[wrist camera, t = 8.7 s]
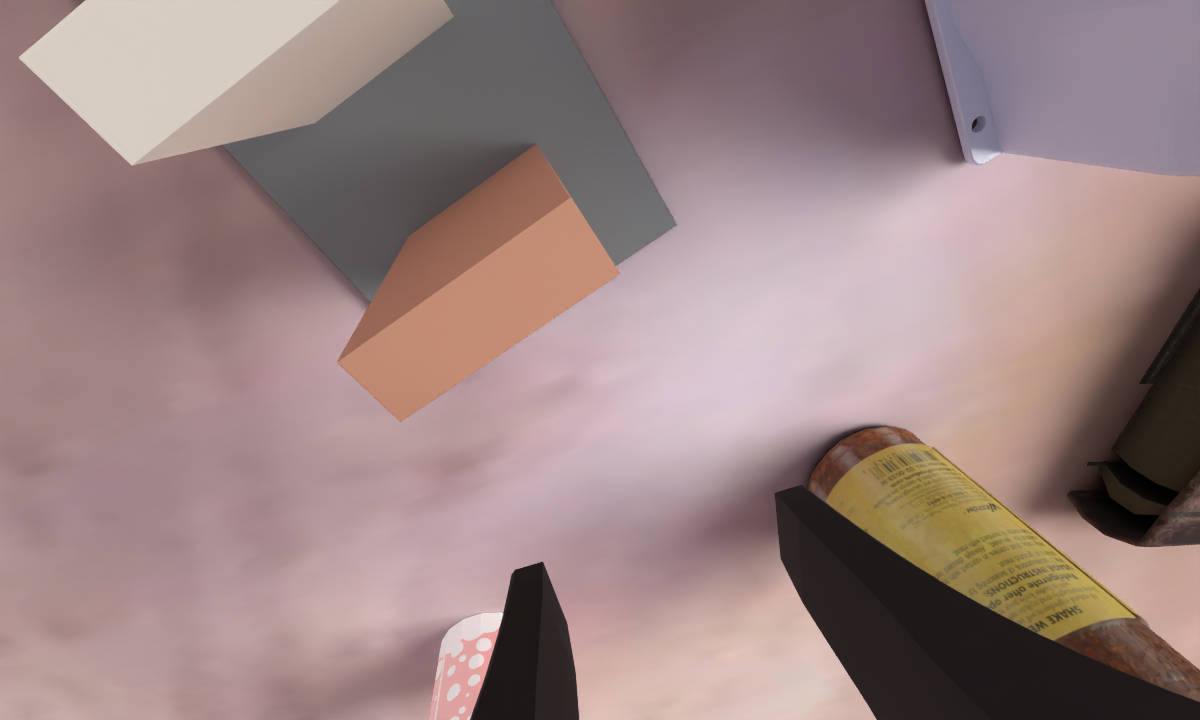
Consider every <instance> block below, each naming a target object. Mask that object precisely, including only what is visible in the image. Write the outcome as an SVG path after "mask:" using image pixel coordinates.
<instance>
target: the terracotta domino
mask: <svg viewBox="0 0 1200 720" xmlns="http://www.w3.org/2000/svg"><path fill="white" fill-rule="evenodd" d="M619 274H620V272H619V271H618V269H617V268H616V266H615V265H614V263H613V261H612V260H611V258H610V257H609V255H608V254H607V252H606V251H605V249H604V247H603V246H602V244H601V243H600V241H599V240H598V238H597V237H596V235H595V233H594V232H593V230H592V229H591V227H590V226H589V224H588V223H587V221H586V219H585V218H584V216H583V215H582V213H581V212H580V210H579V209H578V207H577V205H576V204H575V202H574V201H573V199H572V198H571V196H570V195H569V193H568V191H567V190H566V188H565V187H564V185H563V184H562V182H561V181H560V179H559V178H558V176H557V175H556V173H555V172H554V170H553V169H552V167H551V165H550V164H549V162H548V161H547V159H546V158H545V156H544V155H543V153H542V152H541V150H540V149H539V147H538V146H537V144H535V145H533V146H532V147H531V148H529V149H528V150H527V151H525V152H524V153H522V154H521V155H520V156H518V157H517V158H516V159H514V160H513V161H511V162H510V163H509V164H507V165H506V166H505V167H503V168H502V169H500V170H499V171H498V172H496V173H495V174H494V175H492V176H491V177H489V178H488V179H487V180H485V181H484V182H483V183H481V184H480V185H478V186H477V187H476V188H474V189H473V190H472V191H470V192H469V193H467V194H466V195H465V196H463V197H462V198H460V199H459V200H458V201H456V202H455V203H454V204H452V205H451V206H449V207H448V208H447V209H445V210H444V211H443V212H441V213H440V214H438V215H437V216H436V217H434V218H433V219H432V220H430V221H429V222H427V223H426V224H425V225H423V226H422V227H421V228H419V229H418V230H416V231H415V232H414V233H412V234H411V235H410V236H409V237H408V238H407V240H406V242H405V244H404V245H403V247H402V249H401V251H400V252H399V254H398V256H397V258H396V259H395V261H394V263H393V265H392V266H391V268H390V270H389V272H388V273H387V275H386V277H385V279H384V280H383V282H382V284H381V286H380V287H379V289H378V291H377V293H376V295H375V296H374V298H373V300H372V302H371V303H370V305H369V307H368V309H367V310H366V312H365V314H364V316H363V317H362V319H361V321H360V323H359V324H358V326H357V328H356V330H355V331H354V333H353V335H352V337H351V338H350V340H349V342H348V344H347V345H346V347H345V349H344V351H343V352H342V354H341V356H340V358H339V360H338V361H337V363H338V364H339V365H340V366H341V367H342V368H343V369H345V370H346V371H347V372H348V373H349V374H350V375H351V376H352V377H353V378H354V379H355V380H356V381H357V382H358V383H359V384H360V385H362V386H363V387H364V388H365V389H366V390H367V391H368V392H369V393H370V394H371V395H372V396H373V397H374V398H375V399H376V400H377V401H379V402H380V403H381V404H382V405H383V406H384V407H385V408H386V409H387V410H388V411H389V412H390V413H391V414H392V415H393V416H394V417H396V418H397V419H398V420H399V421H400V422H401V421H403V420H404V419H406V418H407V417H409V416H410V415H412V414H413V413H415V412H416V411H417V410H419V409H420V408H422V407H423V406H425V405H426V404H428V403H429V402H431V401H432V400H434V399H435V398H437V397H438V396H440V395H441V394H443V393H444V392H446V391H447V390H449V389H450V388H452V387H453V386H454V385H456V384H457V383H459V382H460V381H462V380H463V379H465V378H466V377H468V376H469V375H471V374H472V373H474V372H475V371H477V370H478V369H480V368H481V367H483V366H484V365H486V364H487V363H489V362H490V361H491V360H493V359H494V358H496V357H497V356H499V355H500V354H502V353H503V352H505V351H506V350H508V349H509V348H511V347H512V346H514V345H515V344H517V343H518V342H520V341H521V340H523V339H524V338H526V337H527V336H528V335H530V334H531V333H533V332H534V331H536V330H537V329H539V328H540V327H542V326H543V325H545V324H546V323H548V322H549V321H551V320H552V319H554V318H555V317H557V316H558V315H560V314H561V313H563V312H564V311H565V310H567V309H568V308H570V307H571V306H573V305H574V304H576V303H577V302H579V301H580V300H582V299H583V298H585V297H586V296H588V295H589V294H591V293H592V292H594V291H595V290H597V289H598V288H599V287H601V286H602V285H604V284H605V283H607V282H608V281H610V280H611V279H613V278H614V277H616V276H617V275H619Z"/></svg>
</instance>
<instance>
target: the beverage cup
mask: <svg viewBox="0 0 1200 720" xmlns="http://www.w3.org/2000/svg"><path fill="white" fill-rule="evenodd" d="M502 616H503V613H501V612H498V613H481V614H478V615H475V616H471V617H468V618H465V619H463V620H461V621H460V622H459V623H457V624H456V625H454V626H453V627H451V628H450V629H449V630H448V632H447V634H446V635H445V637H444V638H443V640H442V643H441V649H440V655H439V661H438V667H437V673H436V679H435V685H434V691H433V697H432V703H431V709H430V715H429V720H470V718H471V715H472V712H473V710H474V707H475V704H476V701H477V698H478V695H479V693H480V690H481V687H482V684H483V681H484V678H485V675H486V672H487V669H488V665H489V662H490V659H491V655H492V652H493V649H494V645H495V642H496V639H497V635H498V631H499V628H500V624H501V620H502Z"/></svg>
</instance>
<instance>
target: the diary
mask: <svg viewBox="0 0 1200 720" xmlns="http://www.w3.org/2000/svg"><path fill="white" fill-rule="evenodd" d="M1152 383H1154V384H1153V386H1152V387H1151V389H1150V390H1149V392H1148V393H1147V395H1146V396H1145V398H1144V399H1143V401H1142V403H1141V404H1140V406H1139V407H1138V409H1137V410H1136V412H1135V413H1134V415H1133V416H1132V418H1131V419H1130V421H1129V422H1128V424H1127V426H1126V427H1125V429H1124V430H1123V432H1122V433H1121V435H1120V436H1119V438H1118V439H1117V441H1116V442H1115V444H1114V445H1113V447H1112V450H1114V451H1115V452H1116V453H1117V454H1118V455H1119V456H1120V457H1121V458H1122V459H1123V460H1124V461H1125V462H1111V461H1103V462H1089V463H1088V464H1087V466H1100V467H1099V470H1100V472H1101V475H1102V478H1103V480H1104V483H1105V485H1106V488H1107V491H1070V492H1069V493H1068V494H1067V496H1068V498H1069V499H1070V501H1071V502H1072V503H1073V505H1074V506H1075V508H1076V509H1077V511H1078V512H1079V514H1080V515H1081V517H1082V518H1083V519H1085V520H1086V521H1087V522H1088V523H1090V524H1091V525H1092V526H1094V527H1095V528H1096V529H1098V530H1099V531H1100V532H1102V533H1103V534H1104V535H1106V536H1109V537H1112V538H1114V539H1117V540H1120V541H1123V542H1126V543H1129V544H1131V545H1134V546H1141V547H1162V546H1179V545H1196V544H1200V289H1199V290H1198V292H1197V293H1196V295H1195V296H1194V298H1193V300H1192V301H1191V303H1190V304H1189V306H1188V308H1187V309H1186V311H1185V312H1184V314H1183V315H1182V317H1181V319H1180V320H1179V322H1178V323H1177V325H1176V327H1175V328H1174V330H1173V331H1172V333H1171V334H1170V336H1169V338H1168V339H1167V341H1166V342H1165V344H1164V345H1163V347H1162V349H1161V350H1160V352H1159V353H1158V355H1157V357H1156V358H1155V360H1154V361H1153V363H1152V364H1151V366H1150V368H1149V369H1148V371H1147V372H1146V374H1145V375H1144V377H1143V379H1142V380H1141V382H1140V383H1139V384H1152Z"/></svg>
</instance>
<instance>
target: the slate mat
mask: <svg viewBox="0 0 1200 720" xmlns="http://www.w3.org/2000/svg"><path fill="white" fill-rule="evenodd" d="M444 1H445V3H446V4H447V6H448V7H449V9H450V11H451V12H452V14H453V15H454V17H453V18H452V19H450V20H449V21H448V22H446V23H445V24H444V25H442V26H441V27H440V28H439V29H437V30H436V31H435V32H433V33H432V34H431V35H429V36H428V37H427V38H425V39H424V40H423V41H422V42H420V43H419V44H418V45H416V46H415V47H414V48H412V49H411V50H410V51H409V52H407V53H406V54H405V55H403V56H402V57H401V58H399V59H398V60H397V61H395V62H394V63H393V64H392V65H390V66H389V67H388V68H386V69H385V70H384V71H382V72H381V73H380V74H378V75H377V76H376V77H375V78H373V79H372V80H371V81H369V82H368V83H367V84H365V85H364V86H363V87H362V88H360V89H359V90H358V91H356V92H355V93H354V94H352V95H351V96H350V97H348V98H347V99H346V100H345V101H343V102H342V103H341V104H339V105H338V106H337V107H335V108H334V109H333V110H331V111H330V112H329V113H328V114H326V115H325V116H324V117H322V118H321V119H320V120H318V121H317V122H316V123H314V124H310V125H305V126H301V127H297V128H292V129H288V130H284V131H279V132H275V133H271V134H266V135H262V136H258V137H253V138H249V139H245V140H240V141H236V142H232V143H227V144H223V145H222V146H223V147H224V148H225V149H226V150H227V151H228V152H229V153H230V155H231V156H232V157H233V158H234V159H235V160H236V161H237V162H238V163H239V164H240V165H241V166H242V167H243V168H244V169H245V170H246V171H247V173H248V174H249V175H250V176H251V177H252V178H253V179H254V180H255V181H256V182H257V183H258V184H259V185H260V186H261V187H262V188H263V189H264V190H265V192H266V193H267V194H268V195H269V196H270V197H271V198H272V199H273V200H274V201H275V202H276V203H277V204H278V205H279V206H280V207H281V208H282V209H283V211H284V212H285V213H286V214H287V215H288V216H289V217H290V218H291V219H292V220H293V221H294V222H295V223H296V224H297V225H298V226H299V227H300V229H301V230H302V231H303V232H304V233H305V234H306V235H307V236H308V237H309V238H310V239H311V240H312V241H313V242H314V243H315V244H316V245H317V246H318V248H319V249H320V250H321V251H322V252H323V253H324V254H325V255H326V256H327V257H328V258H329V259H330V260H331V261H332V262H333V263H334V264H335V266H336V267H337V268H338V269H339V270H340V271H341V272H342V273H343V274H344V275H345V276H346V277H347V278H348V279H349V280H350V281H351V282H352V283H353V285H354V286H355V287H356V288H357V289H358V290H359V291H360V292H361V293H362V294H363V295H364V296H365V297H366V298H367V299H368V300H369V301H370V303H371V302H372V300H373V298H374V296H375V295H376V293H377V291H378V289H379V287H380V286H381V284H382V282H383V280H384V279H385V277H386V275H387V273H388V272H389V270H390V268H391V266H392V265H393V263H394V261H395V259H396V258H397V256H398V254H399V252H400V251H401V249H402V247H403V245H404V244H405V242H406V240H407V238H408V237H409V236H410V235H411V234H412V233H414V232H415V231H416V230H418V229H419V228H421V227H422V226H423V225H425V224H426V223H427V222H429V221H430V220H432V219H433V218H434V217H436V216H437V215H438V214H440V213H441V212H443V211H444V210H445V209H447V208H448V207H449V206H451V205H452V204H454V203H455V202H456V201H458V200H459V199H460V198H462V197H463V196H465V195H466V194H467V193H469V192H470V191H472V190H473V189H474V188H476V187H477V186H478V185H480V184H481V183H483V182H484V181H485V180H487V179H488V178H489V177H491V176H492V175H494V174H495V173H496V172H498V171H499V170H500V169H502V168H503V167H505V166H506V165H507V164H509V163H510V162H511V161H513V160H514V159H516V158H517V157H518V156H520V155H521V154H522V153H524V152H525V151H527V150H528V149H529V148H531V147H532V146H533V145H535V144H537V146H538V147H539V149H540V150H541V152H542V153H543V155H544V156H545V158H546V159H547V161H548V162H549V164H550V165H551V167H552V169H553V170H554V172H555V173H556V175H557V176H558V178H559V179H560V181H561V182H562V184H563V185H564V187H565V188H566V190H567V191H568V193H569V195H570V196H571V198H572V199H573V201H574V202H575V204H576V205H577V207H578V209H579V210H580V212H581V213H582V215H583V216H584V218H585V219H586V221H587V223H588V224H589V226H590V227H591V229H592V230H593V232H594V233H595V235H596V237H597V238H598V240H599V241H600V243H601V244H602V246H603V247H604V249H605V251H606V252H607V254H608V255H609V257H610V258H611V260H612V261H613V263H614V265H615V266H616V265H618V264H619V263H621V262H622V261H624V260H625V259H627V258H628V257H630V256H631V255H633V254H634V253H636V252H637V251H639V250H640V249H642V248H643V247H645V246H646V245H648V244H649V243H651V242H652V241H654V240H655V239H657V238H658V237H660V236H661V235H663V234H664V233H666V232H667V231H669V230H670V229H672V228H673V227H675V226H676V225H677V224H676V222H675V221H674V219H673V217H672V215H671V213H670V212H669V210H668V208H667V206H666V205H665V203H664V201H663V199H662V197H661V196H660V194H659V192H658V190H657V188H656V187H655V185H654V183H653V181H652V180H651V178H650V176H649V174H648V172H647V171H646V169H645V167H644V165H643V164H642V162H641V160H640V158H639V156H638V155H637V153H636V151H635V149H634V147H633V146H632V144H631V142H630V140H629V139H628V137H627V135H626V133H625V131H624V130H623V128H622V126H621V124H620V123H619V121H618V119H617V117H616V115H615V114H614V112H613V110H612V108H611V106H610V105H609V103H608V101H607V99H606V98H605V96H604V94H603V92H602V90H601V89H600V87H599V85H598V83H597V82H596V80H595V78H594V76H593V74H592V73H591V71H590V69H589V67H588V65H587V64H586V62H585V60H584V58H583V57H582V55H581V53H580V51H579V49H578V48H577V46H576V44H575V42H574V41H573V39H572V37H571V35H570V33H569V32H568V30H567V28H566V26H565V24H564V23H563V21H562V19H561V17H560V16H559V14H558V12H557V10H556V8H555V7H554V5H553V3H552V1H551V0H444Z"/></svg>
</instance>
